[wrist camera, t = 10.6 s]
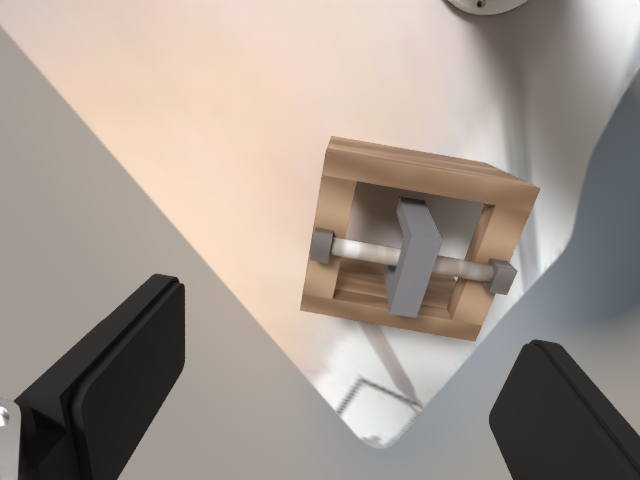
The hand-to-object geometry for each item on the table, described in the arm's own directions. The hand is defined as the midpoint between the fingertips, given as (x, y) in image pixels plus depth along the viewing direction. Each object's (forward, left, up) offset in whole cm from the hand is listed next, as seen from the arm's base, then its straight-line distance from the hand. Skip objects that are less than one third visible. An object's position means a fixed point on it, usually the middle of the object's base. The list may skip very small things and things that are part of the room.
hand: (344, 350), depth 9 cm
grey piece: (+6, +7, -26) cm, 27 cm away
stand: (+6, +7, -33) cm, 35 cm away
